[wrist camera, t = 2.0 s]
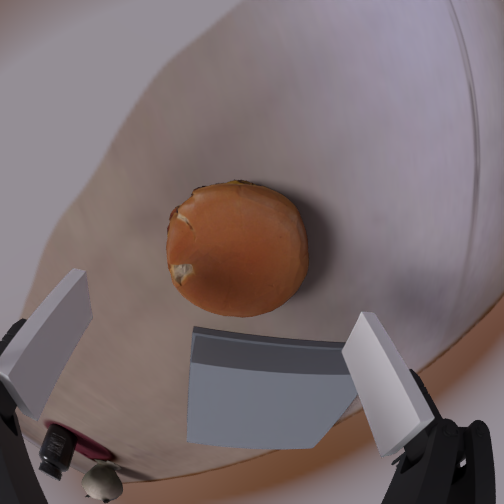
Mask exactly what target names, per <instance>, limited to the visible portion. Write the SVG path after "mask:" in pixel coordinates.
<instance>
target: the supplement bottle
mask: <svg viewBox="0 0 504 504" xmlns="http://www.w3.org/2000/svg"><path fill="white" fill-rule="evenodd" d="M76 444H77V438H76V436H75V435H74V434H72V433H71V432H70V431H68V430H66V429H65V428H63V427H61V426H59V425H56V424H51V425H50V426H49V428H48V430H47V433H46V435H45V438H44V441H43V443H42V446H41V449H40V451H39V456H40V458H41V460H42V463H40V467H39V470H40V471H41V472H43V473H45V474H46V475H48V476H50V477H52V478H54V479H56V480H58V481H60V479H61V476H62V474H61V473H62V472H66V471H68V469H69V467H70V463H71V460H72V457H73V454H74V450H75V447H76Z"/></svg>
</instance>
